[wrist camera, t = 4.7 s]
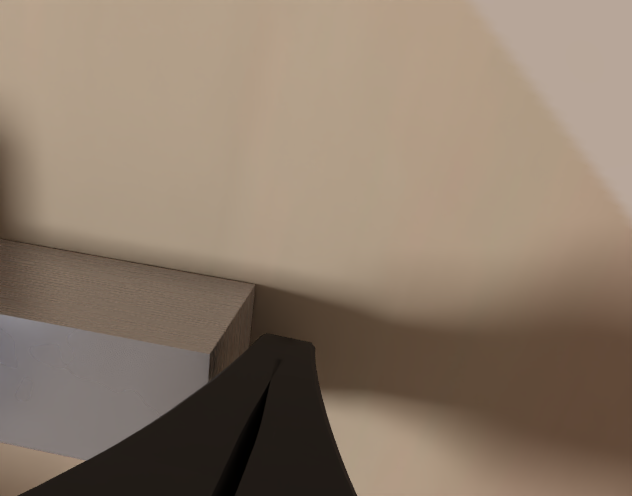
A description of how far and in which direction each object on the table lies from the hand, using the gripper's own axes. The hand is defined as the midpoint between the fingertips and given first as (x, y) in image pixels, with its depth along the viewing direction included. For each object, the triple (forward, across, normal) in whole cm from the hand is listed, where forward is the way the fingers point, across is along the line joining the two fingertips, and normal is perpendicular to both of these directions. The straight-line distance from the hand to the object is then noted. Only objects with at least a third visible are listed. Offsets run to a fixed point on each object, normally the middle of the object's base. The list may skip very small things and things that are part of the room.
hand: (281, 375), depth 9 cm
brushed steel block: (+1, +7, 0) cm, 7 cm away
